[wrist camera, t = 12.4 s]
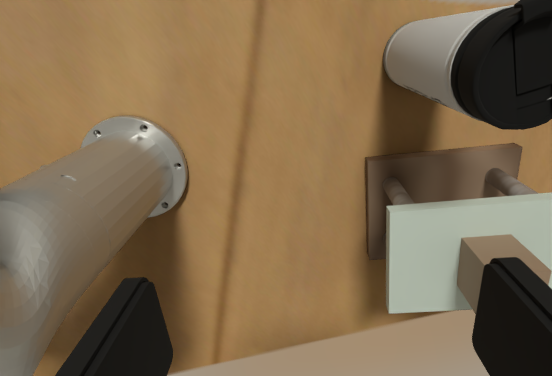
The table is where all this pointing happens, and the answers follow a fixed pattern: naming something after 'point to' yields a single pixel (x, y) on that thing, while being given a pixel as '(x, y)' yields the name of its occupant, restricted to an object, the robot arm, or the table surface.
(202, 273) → the table surface
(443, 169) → the peg stand
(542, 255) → the shelf board
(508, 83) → the travel mug
